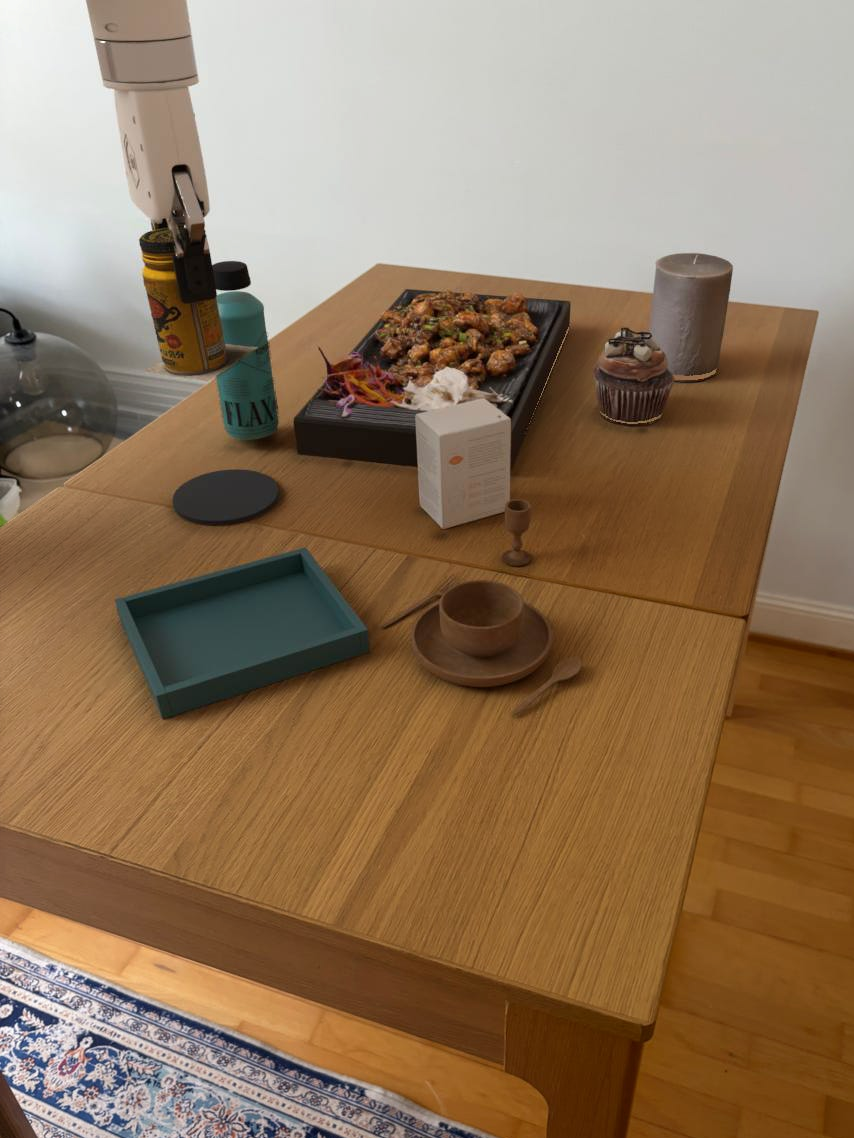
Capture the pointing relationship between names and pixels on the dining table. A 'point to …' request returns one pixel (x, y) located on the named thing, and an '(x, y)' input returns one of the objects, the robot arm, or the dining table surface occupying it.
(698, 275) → the pillar candle
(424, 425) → the small box
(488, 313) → the food platter
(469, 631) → the place setting
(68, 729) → the dining table surface
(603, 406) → the cupcake
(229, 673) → the tray
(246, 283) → the beverage bottle
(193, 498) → the mat
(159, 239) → the condiment
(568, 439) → the dining table surface
